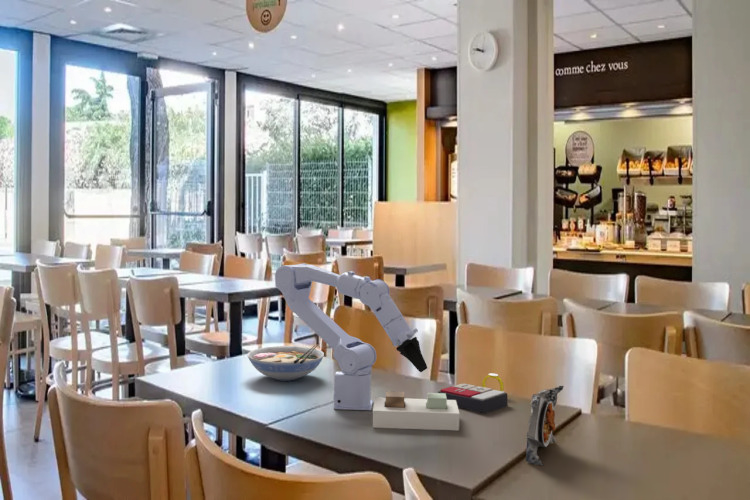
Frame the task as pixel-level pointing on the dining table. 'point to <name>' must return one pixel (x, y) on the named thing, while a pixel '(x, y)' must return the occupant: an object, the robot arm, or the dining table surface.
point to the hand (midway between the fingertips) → (423, 369)
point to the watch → (493, 377)
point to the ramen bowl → (285, 361)
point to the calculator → (476, 397)
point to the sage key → (436, 401)
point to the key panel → (415, 415)
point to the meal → (541, 422)
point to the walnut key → (395, 399)
